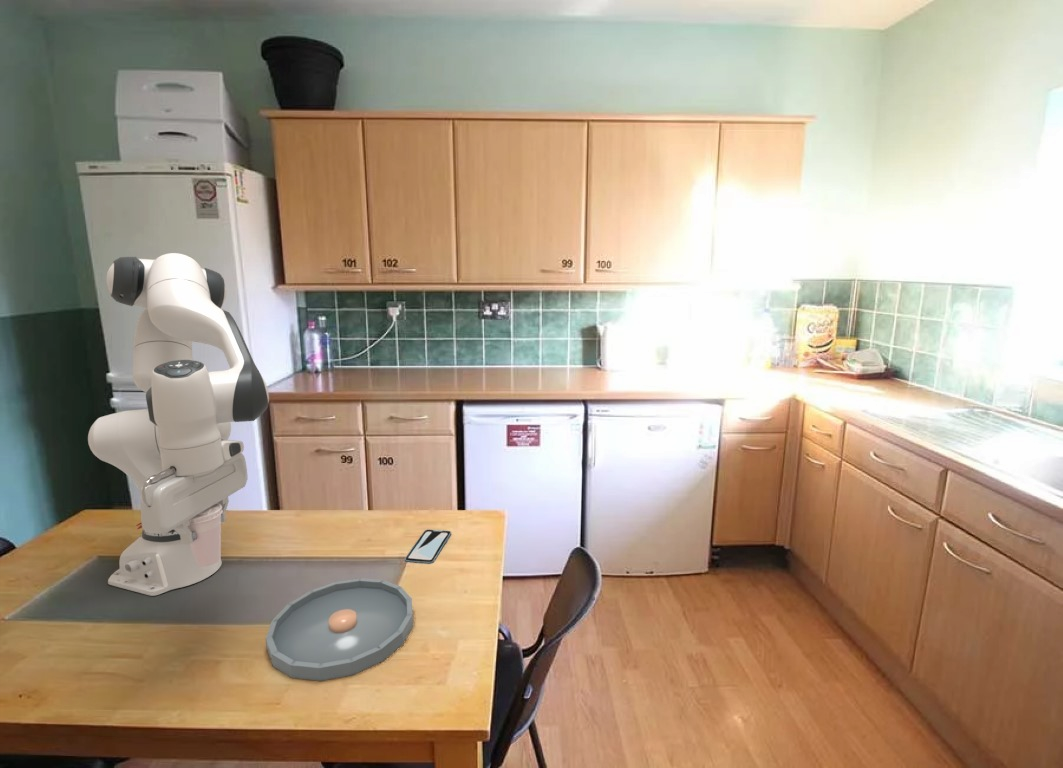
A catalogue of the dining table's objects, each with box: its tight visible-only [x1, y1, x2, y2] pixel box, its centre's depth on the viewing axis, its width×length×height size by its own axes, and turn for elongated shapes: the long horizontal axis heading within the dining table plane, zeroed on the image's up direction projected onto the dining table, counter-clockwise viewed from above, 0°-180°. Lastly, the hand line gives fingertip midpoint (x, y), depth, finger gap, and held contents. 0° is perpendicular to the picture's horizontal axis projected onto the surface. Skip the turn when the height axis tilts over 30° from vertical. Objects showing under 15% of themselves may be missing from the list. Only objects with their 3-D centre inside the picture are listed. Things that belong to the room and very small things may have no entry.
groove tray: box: [265, 577, 414, 682], centre depth 102 cm, size 26×26×2 cm
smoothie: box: [187, 503, 223, 567], centre depth 92 cm, size 6×6×14 cm
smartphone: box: [404, 528, 452, 565], centre depth 132 cm, size 7×1×15 cm
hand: (204, 532), depth 93 cm, fingers closed on smoothie, 5 cm apart
